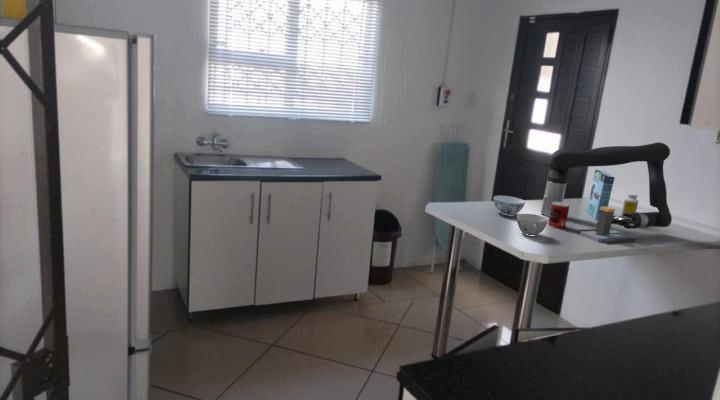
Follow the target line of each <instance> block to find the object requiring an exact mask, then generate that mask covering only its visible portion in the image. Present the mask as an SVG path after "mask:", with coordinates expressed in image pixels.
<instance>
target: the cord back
mask: <svg viewBox="0 0 720 400" xmlns="http://www.w3.org/2000/svg"><path fill="white" fill-rule="evenodd" d="M580 231H596V228H588V229H585V228H584V229H583V228H582V229H578V232H579V233H578V234H580Z"/></svg>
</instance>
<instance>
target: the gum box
mask: <svg viewBox="0 0 720 400" xmlns="http://www.w3.org/2000/svg"><path fill="white" fill-rule="evenodd" d="M614 182H615V176H613V175H611V174H610V173H609V172H606V171H605V170H600V169H595V170H594V173H593V178H592V183H591V187H590V191H589V195H588V201H587V205H586V210H585V211H586V212H587V213H588V214H590V216H591V217H592V218H593V219H594V221H598V217H599V213H600V207H609V203H610V199H611V195H612V191H613V186H614Z"/></svg>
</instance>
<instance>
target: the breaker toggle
mask: <svg viewBox="0 0 720 400" xmlns="http://www.w3.org/2000/svg"><path fill="white" fill-rule="evenodd" d="M615 211H616V209H615V208H613V207H610V206H608V207H600V213H599V217H598V220H597V223H596V227H595V229H596V231H595V232H597V233H599V234H602V235H609V233H610V230H611V227H612V225H613V224H612V219H613V215H614V216H615Z"/></svg>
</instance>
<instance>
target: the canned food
mask: <svg viewBox="0 0 720 400" xmlns="http://www.w3.org/2000/svg"><path fill="white" fill-rule="evenodd" d="M569 210H570V203H569V204H568V202H567V203H566V202H564V201H563V202H552V206H551V211H550V216H548V217H549V218H548V221H547V224H548V226H549V225H550V226H549V227H551V226H553V227H552V228H554V227H556V228H555V229H560V228H562V229H565V228H566V224H567V220H568V216H569Z"/></svg>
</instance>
